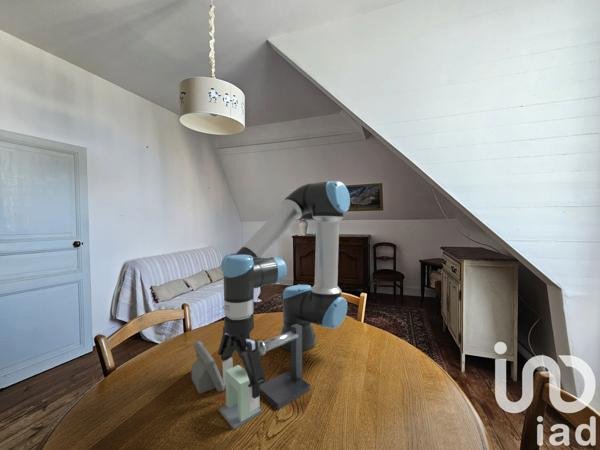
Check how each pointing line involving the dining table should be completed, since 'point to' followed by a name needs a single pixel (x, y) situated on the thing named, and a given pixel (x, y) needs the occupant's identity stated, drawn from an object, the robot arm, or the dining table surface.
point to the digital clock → (205, 371)
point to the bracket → (238, 391)
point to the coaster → (235, 415)
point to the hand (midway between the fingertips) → (240, 394)
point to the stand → (287, 383)
